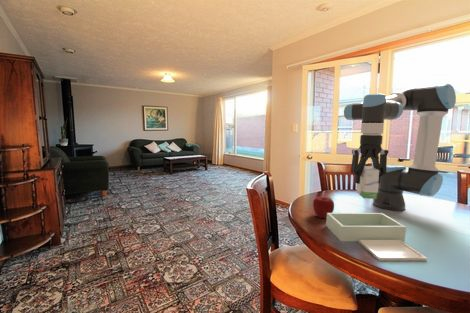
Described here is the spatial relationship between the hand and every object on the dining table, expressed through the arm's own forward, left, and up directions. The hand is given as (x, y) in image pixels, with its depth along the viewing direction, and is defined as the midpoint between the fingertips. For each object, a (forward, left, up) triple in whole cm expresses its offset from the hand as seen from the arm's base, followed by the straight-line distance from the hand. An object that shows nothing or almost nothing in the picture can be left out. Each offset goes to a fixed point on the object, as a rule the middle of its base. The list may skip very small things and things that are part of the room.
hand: (366, 191), depth 93 cm
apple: (+10, -17, -18) cm, 27 cm away
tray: (-2, +14, -18) cm, 23 cm away
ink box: (0, 0, -2) cm, 2 cm away
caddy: (0, 0, -18) cm, 18 cm away
